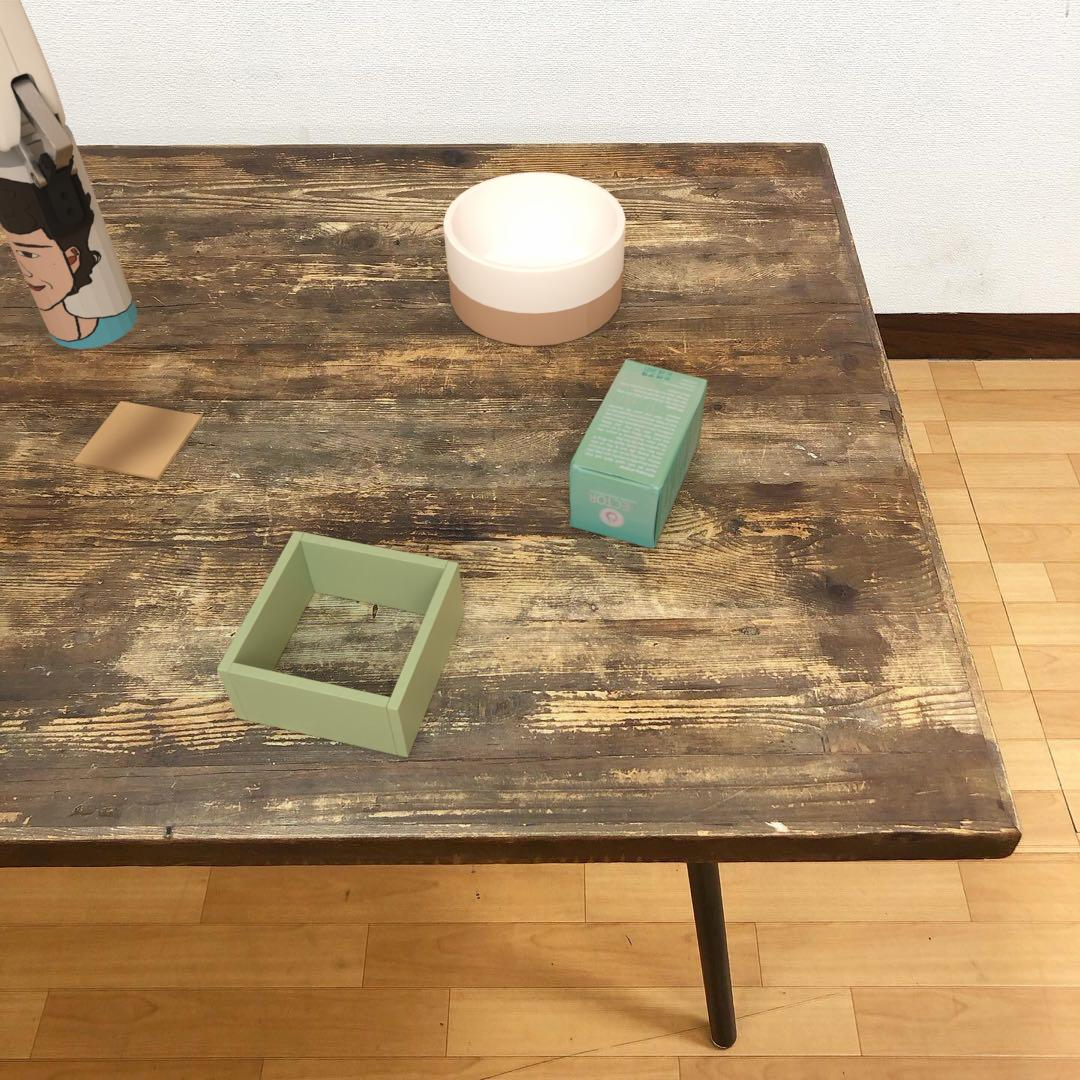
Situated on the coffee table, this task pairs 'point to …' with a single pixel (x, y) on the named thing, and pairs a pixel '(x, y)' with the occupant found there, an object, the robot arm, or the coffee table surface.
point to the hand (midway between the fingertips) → (46, 207)
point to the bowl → (535, 257)
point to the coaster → (138, 440)
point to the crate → (356, 578)
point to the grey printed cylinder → (65, 260)
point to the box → (636, 453)
